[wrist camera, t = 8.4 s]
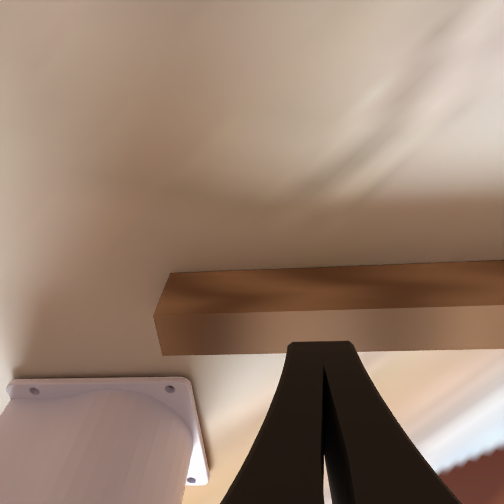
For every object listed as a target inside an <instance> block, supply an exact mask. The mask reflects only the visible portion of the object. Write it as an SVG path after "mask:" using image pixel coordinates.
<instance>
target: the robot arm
mask: <svg viewBox="0 0 504 504" xmlns="http://www.w3.org/2000/svg"><path fill="white" fill-rule="evenodd" d="M169 386H173V387H169ZM36 388H37V389H36ZM6 389H7V392H8V394H9V396H10V398H11V400H10V402H9V403H8V405H7V406H6V408H5V409H4V411H3V412H2V414H1V415H0V504H182V499H183V494H184V489H185V485H205V484H207V483H208V482H209V477H210V473H209V468H208V464H207V459H206V454H205V449H204V444H203V439H202V434H201V429H200V424H199V420H198V415H197V410H196V405H195V400H194V395H193V390H192V385H191V382H190V381H189V380H188V379H187V378H184V377H124V378H60V379H14V380H12V381H10V383H9V384H8V385H7V388H6ZM324 456H325V462H326V468H327V474H328V480H329V486H330V492H331V498H332V504H462V503H461V502H460V501H459V500H458V499H457V498H456V497H455V495H454V494H453V493H452V492H451V491H450V489H449V488H448V487H447V486H446V485H445V484H444V482H443V481H442V480H441V479H440V478H439V476H438V475H437V474H436V473H435V471H434V470H433V469H432V468H431V466H430V465H429V464H428V462H427V461H426V460H425V459H424V457H423V456H422V455H421V453H420V452H419V451H418V449H417V448H416V447H415V445H414V444H413V443H412V441H411V440H410V439H409V437H408V436H407V434H406V433H405V432H404V430H403V429H402V427H401V426H400V424H399V423H398V422H397V420H396V419H395V417H394V416H393V414H392V412H391V411H390V409H389V408H388V406H387V405H386V403H385V402H384V400H383V399H382V397H381V396H380V394H379V392H378V391H377V389H376V387H375V386H374V384H373V382H372V380H371V379H370V377H369V375H368V373H367V372H366V370H365V368H364V366H363V364H362V362H361V360H360V358H359V356H358V354H357V352H356V349H355V347H354V345H353V344H352V343H351V342H350V341H308V342H292V343H290V344H289V345H288V346H287V354H286V359H285V364H284V367H283V371H282V374H281V378H280V381H279V384H278V387H277V390H276V392H275V395H274V397H273V400H272V402H271V405H270V408H269V410H268V413H267V415H266V418H265V420H264V422H263V424H262V426H261V428H260V431H259V433H258V435H257V437H256V439H255V441H254V443H253V445H252V447H251V450H250V452H249V454H248V456H247V457H246V459H245V461H244V463H243V465H242V467H241V469H240V471H239V472H238V474H237V476H236V478H235V479H234V481H233V483H232V485H231V486H230V488H229V490H228V492H227V493H226V495H225V497H224V498H223V500H222V501H221V503H220V504H324V495H323V479H324Z"/></svg>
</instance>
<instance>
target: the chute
mask: <svg viewBox="0 0 504 504" xmlns="http://www.w3.org/2000/svg"><path fill="white" fill-rule="evenodd" d="M153 316H154V321H155V325H156V329H157V333H158V338H159V342H160V346H161V350H162V355H163V356H171V355H220V354H269V353H287V346H288V345H289V344H290V343H292V342H308V341H350V342H351V343H352V344H353V345H354V347H355V349H356V352H367V351H416V350H465V349H504V260H499V261H473V262H447V263H421V264H395V265H370V266H344V267H318V268H292V269H266V270H240V271H214V272H188V273H170V276H169V278H168V280H167V283H166V285H165V288H164V290H163V293H162V295H161V298H160V300H159V303H158V305H157V307H156V310H155V312H154V315H153Z"/></svg>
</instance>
